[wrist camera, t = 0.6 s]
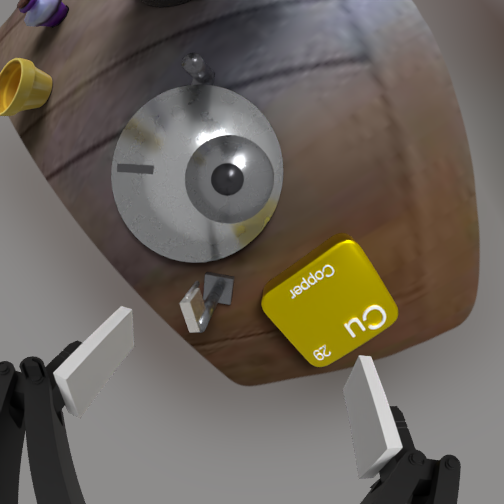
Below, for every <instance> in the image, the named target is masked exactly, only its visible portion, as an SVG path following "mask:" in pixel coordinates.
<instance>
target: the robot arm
mask: <svg viewBox="0 0 504 504" xmlns="http://www.w3.org/2000/svg"><path fill="white" fill-rule="evenodd" d="M141 1H142V2H144V3H145V4H147V5H150V6H154V7H169V6H175V5H179V4H182V3H186V2H188V1H191V0H141ZM133 347H134V333H133V313H132V309H129V308H126V307H123V306H121V307H120V308H119V309H118V310H117V311H115V312H114V314H112V315H111V316H110V317H109V318H108V319H107V320H106V321H105V322H104V323H103V324H102V325H101V326H100V327H99V328H98V329H97V330H96V331H94V333H92V334H91V335H90V336H89V337H88V338H87V340H85V341H84V342H83V343H82V342H79V341H75V342H73V343H71V344H69V345H68V346H67V347H66V348H65V349H64V350H63V351H62V352H61V353H60V354H59V355H58V356H56V357H55V358H54V359H53V360H52V361H51V362H50V363H49V364H48V365H47V366H46V367H45V366H44V363H43V361H42V360H41V359H40V358H37V357H27V358H25V359H24V360H23V361H22V362H21V363H20V369H21V372H22V373H21V372H18V371H15V368H14V366H13V364H12V363H10V362H8V361H3V362H0V504H18V487H19V474H20V463H21V456H22V448H23V442H24V435H25V430H26V440H27V450H28V457H29V464H30V471H31V476H32V482H33V487H34V491H35V496H36V500H37V504H86V503H85V501H84V498H83V495H82V492H81V489H80V486H79V483H78V479H77V476H76V472H75V468H74V465H73V461H72V457H71V453H70V448H69V444H68V439H67V434H66V429H65V423H64V417H63V412H62V408H63V407H64V405H65V406H66V408H67V410H68V412H69V413H71V414H72V415H75V416H76V417H78V418H81V417H82V416H83V414H84V413H85V411H86V410H87V409H88V407H89V406H90V405H91V403H92V402H93V400H94V399H95V398H96V396H97V395H98V393H99V392H100V391H101V390H102V388H103V387H104V386H105V384H106V383H107V382H108V380H109V379H110V378H111V376H112V375H113V374H114V372H115V371H116V370H117V368H118V367H119V366H120V364H121V363H122V362H123V361H124V359H125V358H126V357H127V355H128V354H129V353H130V351H131V350H132V349H133ZM343 393H344V397H345V403H346V408H347V412H348V418H349V423H350V428H351V434H352V439H353V445H354V451H355V457H356V464H357V470H358V477H359V479H365V478H373V477H374V476H376V474H377V473H379V474H380V479H379V480H378V481H377V482H375V483H374V484H373V485H372V486H371V487H370V488H372V489H371V490H370V492H369V493H368V494H367V496H366V497H365V498H364V500H363V501H362V502H361V503H360V504H457V498H458V490H459V480H460V468H461V466H460V462H459V460H458V459H457V458H456V457H455V456H453V455H445V456H444V457H443V458H441V460H432V459H427V458H426V456H425V455H424V454H423V453H422V452H421V451H418V450H416V449H415V447H414V444H413V441H412V438H411V435H410V433H409V430H408V428H407V424H406V422H405V419H404V416H403V413H402V412H401V411H400V410H399V408H397V406H389V405H388V401H387V398H386V396H385V393H384V390H383V387H382V385H381V382H380V379H379V377H378V374H377V372H376V369H375V366H374V363H373V361H372V358H371V357H370V356H360V355H359V357H358V359H357V361H356V363H355V365H354V367H353V370H352V372H351V374H350V376H349V378H348V380H347V382H346V384H345V386H344V388H343Z"/></svg>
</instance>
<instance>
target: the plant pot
mask: <svg viewBox="0 0 504 504" xmlns="http://www.w3.org/2000/svg"><path fill="white" fill-rule="evenodd" d="M51 90H52V78H51V77H50V76H49V75H48V74H46V73H44V72H43V71H41V70H39V69H38V68H36V67H35V66H34V64H33V63H32V62H31V61H29V60H26V59H22V58H15V59H13V60H11V61H10V62H8V63H7V64H6V66H5V67H4V68H3V70H2V71H1V73H0V116H12V115H15V114H16V113H18V112H19V111H23V110H28V109H33V108H39V107H41V106H42V105H43V104H44V103H45V102H46V101H47V99H48V98H49V96H50V93H51Z"/></svg>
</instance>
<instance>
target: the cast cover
mask: <svg viewBox="0 0 504 504" xmlns="http://www.w3.org/2000/svg"><path fill="white" fill-rule="evenodd" d="M274 179H275V178H274V169H273V166H272V163H271V161H270V159H269V157H268V156H267V154H266V153H265V152H264V151H263V150H262V149H261V148H260V147H259V146H258V145H257V144H256V143H254V142H253V141H251V140H249V139H247V138H244V137H241V136H237V135H222V136H218V137H214V138H212V139H210V140H208V141H206V142H205V143H203V144H202V145H201V146H199V147H198V148H197V149H196V151H195V152H194V153H193V155H192V156H191V158H190V160H189V162H188V164H187V168H186V172H185V187H186V191H187V194H188V197H189V199H190V201H191V203H192V204H193V206H194V207H195V208H196V209H197V210H198V211H199V212H200V213H201V214H202V215H204V216H205V217H206V218H208V219H210V220H213V221H215V222H219V223H226V224H232V223H239V222H242V221H245V220H248V219H250V218H251V217H253V216H255V215H256V214H257V213H258V212H260V210H261V209H262V208H263V207H264V206H265V204H266V203H267V201H268V199H269V198H270V195H271V193H272V190H273V187H274Z"/></svg>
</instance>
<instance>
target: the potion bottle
mask: <svg viewBox="0 0 504 504" xmlns="http://www.w3.org/2000/svg"><path fill="white" fill-rule="evenodd" d="M61 1H62V0H20V1H19V2H18V5H17V8H19V10H20V12H22V13H26V12H27V11H28V12H27V15H26V17H25V20H24V21H25V23H26V25H27V26H37V27H38V26H48V27H52V28H53V27H55V26H57V25H59V24H60V23H61V22H62V21H63V20H64V19H65V17H66V16H67V13H68V11H69V8H68V6H67V5H66V6H65V5H64V4H63V3H62V2H61Z"/></svg>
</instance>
